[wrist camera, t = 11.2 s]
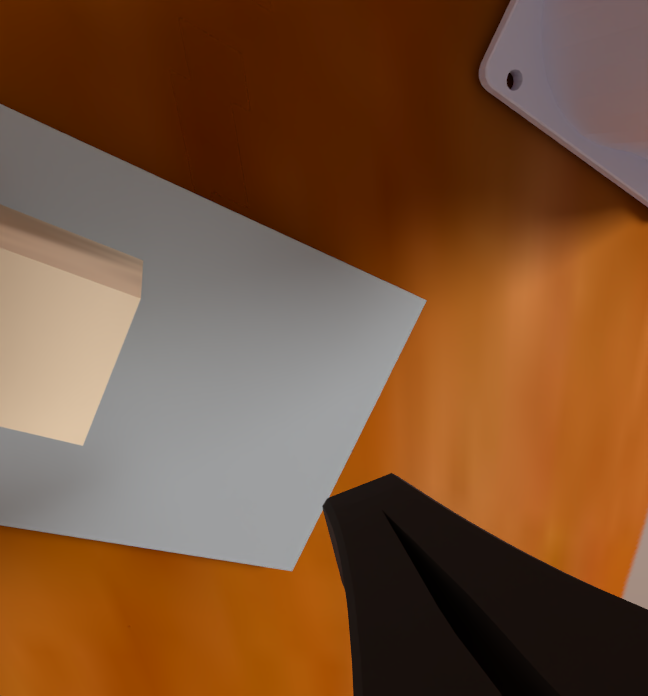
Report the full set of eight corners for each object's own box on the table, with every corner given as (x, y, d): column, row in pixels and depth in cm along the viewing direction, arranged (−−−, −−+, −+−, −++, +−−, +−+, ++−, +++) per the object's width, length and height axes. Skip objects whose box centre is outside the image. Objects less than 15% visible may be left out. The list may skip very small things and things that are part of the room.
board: (414, 294, 16) (426, 300, 15) (286, 554, 18) (292, 571, 17) (-332, -50, 9) (-373, -68, 8) (-420, 433, 11) (-460, 452, 10)
